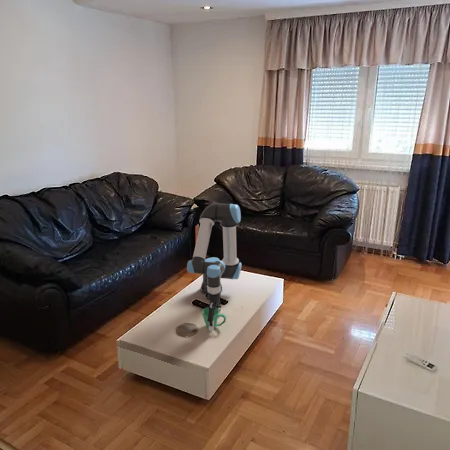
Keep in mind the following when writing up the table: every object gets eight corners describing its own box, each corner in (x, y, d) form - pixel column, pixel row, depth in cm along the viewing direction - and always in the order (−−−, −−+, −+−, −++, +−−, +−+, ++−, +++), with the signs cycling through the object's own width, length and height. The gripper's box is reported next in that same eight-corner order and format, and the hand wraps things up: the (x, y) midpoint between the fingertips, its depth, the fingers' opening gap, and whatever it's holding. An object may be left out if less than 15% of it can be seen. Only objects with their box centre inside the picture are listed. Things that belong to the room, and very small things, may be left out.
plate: (180, 322, 239) (179, 321, 239) (200, 325, 237) (200, 324, 236) (172, 335, 227) (172, 333, 227) (193, 338, 225) (193, 336, 224)
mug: (199, 328, 233) (199, 313, 230) (206, 320, 242) (206, 305, 239) (223, 333, 228) (222, 318, 225) (229, 324, 237) (229, 310, 234)
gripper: (213, 281, 240) (213, 312, 247) (201, 301, 217) (202, 334, 224) (225, 282, 238) (225, 313, 245) (214, 302, 215) (215, 336, 222)
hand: (214, 323), depth 234 cm, fingers open, 13 cm apart
